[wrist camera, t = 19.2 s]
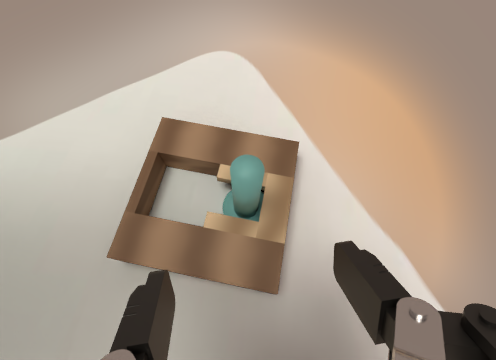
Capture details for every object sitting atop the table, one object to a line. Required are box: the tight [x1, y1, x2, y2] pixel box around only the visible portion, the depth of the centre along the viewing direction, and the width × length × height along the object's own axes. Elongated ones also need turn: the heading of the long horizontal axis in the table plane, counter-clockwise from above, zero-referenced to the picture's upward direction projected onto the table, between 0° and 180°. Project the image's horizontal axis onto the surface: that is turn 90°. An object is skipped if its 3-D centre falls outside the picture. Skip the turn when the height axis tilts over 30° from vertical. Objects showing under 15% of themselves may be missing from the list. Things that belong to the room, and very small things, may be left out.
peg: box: [223, 155, 265, 222], centre depth 25 cm, size 5×5×11 cm
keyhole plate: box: [107, 117, 299, 294], centre depth 28 cm, size 16×16×4 cm
